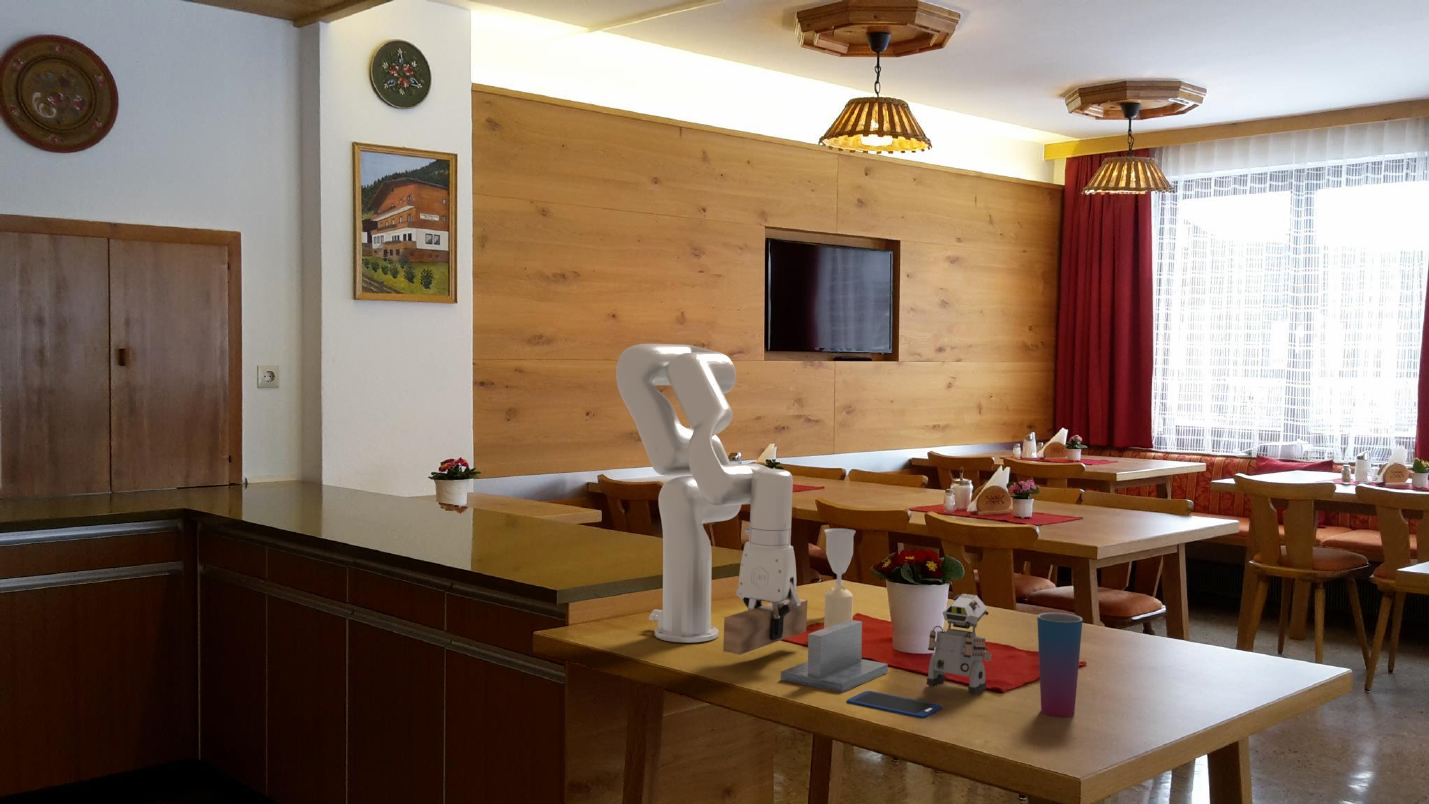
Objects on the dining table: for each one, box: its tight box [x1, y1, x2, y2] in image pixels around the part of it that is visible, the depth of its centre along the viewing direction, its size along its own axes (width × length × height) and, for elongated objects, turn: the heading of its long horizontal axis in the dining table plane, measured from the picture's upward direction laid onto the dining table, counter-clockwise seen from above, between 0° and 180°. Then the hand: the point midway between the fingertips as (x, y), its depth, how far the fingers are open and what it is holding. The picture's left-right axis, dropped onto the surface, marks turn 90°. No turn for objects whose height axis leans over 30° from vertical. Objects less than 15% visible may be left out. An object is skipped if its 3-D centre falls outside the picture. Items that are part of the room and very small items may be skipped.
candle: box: [823, 585, 854, 629], centre depth 231 cm, size 6×6×10 cm
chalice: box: [823, 528, 857, 587], centre depth 252 cm, size 7×7×18 cm
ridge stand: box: [780, 619, 889, 694], centre depth 202 cm, size 12×16×8 cm
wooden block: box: [722, 597, 808, 656], centre depth 213 cm, size 22×4×6 cm, turn 144°
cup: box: [1036, 612, 1083, 718], centre depth 183 cm, size 7×7×15 cm
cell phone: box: [846, 690, 943, 719], centre depth 186 cm, size 7×14×1 cm, turn 54°
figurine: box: [926, 593, 993, 697], centre depth 197 cm, size 9×12×15 cm
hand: (766, 635), depth 214 cm, fingers closed on wooden block, 3 cm apart
